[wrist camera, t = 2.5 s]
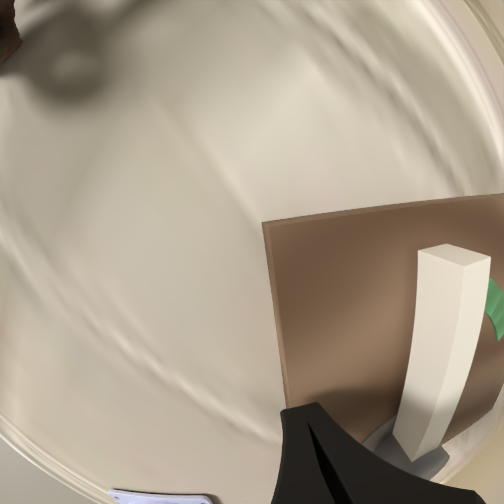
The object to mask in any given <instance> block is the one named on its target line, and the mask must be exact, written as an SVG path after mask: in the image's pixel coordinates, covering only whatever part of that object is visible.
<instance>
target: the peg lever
mask: <svg viewBox="0 0 504 504" xmlns="http://www.w3.org/2000/svg"><path fill="white" fill-rule="evenodd" d="M490 262H491V257H490V256H487V255H484V254H480V253H477V252H474V251H470V250H467V249H464V248H460V247H457V246H453V245H450V244H443V245H439V246H435V247H430V248H426V249H422V250H418V276H417V296H416V309H415V320H414V329H413V337H412V345H411V351H410V358H409V364H408V369H407V375H406V380H405V385H404V389H403V394H402V398H401V403H400V407H399V411H398V414H397V418H396V422H395V425H394V429H393V432H392V434H391V435H389V436H388V437H387V438H386V439H384V440H383V441H382V442H381V443H380V444H379V445H378V446H377V447H376V449H375V450H374V452H373V453H374V454H376V455H377V456H379V457H380V458H382V459H383V460H385V461H387V462H389V463H390V464H392V465H394V466H396V467H398V468H400V469H402V470H404V471H406V472H408V473H410V474H413V475H415V476H418V477H421V478H423V479H426V480H430V479H431V478H432V477H434V476H435V475H436V474H437V473H438V472H439V471H440V470H441V469H442V468H443V467H444V466H445V464H446V463H447V462H448V460H449V455H448V453H447V452H446V451H445V450H444V448H443V447H442V446H441V445H440V442H441V440H442V438H443V436H444V434H445V432H446V430H447V427H448V425H449V423H450V421H451V419H452V416H453V414H454V412H455V409H456V407H457V404H458V402H459V399H460V396H461V394H462V391H463V388H464V386H465V383H466V380H467V377H468V374H469V370H470V367H471V364H472V361H473V357H474V353H475V350H476V346H477V342H478V338H479V334H480V329H481V325H482V320H483V314H484V309H485V303H486V297H487V290H488V282H489V273H490Z"/></svg>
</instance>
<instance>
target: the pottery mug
mask: <svg viewBox="0 0 504 504" xmlns="http://www.w3.org/2000/svg"><path fill="white" fill-rule="evenodd" d="M14 1H15V0H0V64H2V63H4V62H5V61H6V60H7V59H9V58H10V57H11V56H12V55H13V53H14V52H15V51H16V50H17V49H18V48H19V47H20V46H21V44H22V40H21V38H20V37H19V32H18V29H17V27H16V24H15V21H14V18H15V9H14Z"/></svg>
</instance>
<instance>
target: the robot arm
mask: <svg viewBox="0 0 504 504" xmlns="http://www.w3.org/2000/svg"><path fill="white" fill-rule="evenodd" d="M280 415H281V422H282V429H283V444H282V456H281V463H280V469H279V474H278V479H277V484H276V488H275V492H274V495H273V499H272V502H271V504H486V503H485V502H484V500H483V499H482V498H481V497H480V496H479V495H478V494H477V493H476V492H475V491H473V490H467V489H460V488H455V487H450V486H445V485H442V484H438V483H435V482H431V481H429V480H426V479H423V478H421V477H418V476H415V475H413V474H410V473H408V472H406V471H404V470H402V469H400V468H398V467H396V466H394V465H392V464H390V463H389V462H387V461H385V460H383V459H382V458H380V457H379V456H377V455H376V454H374V453H373V452H371V451H370V450H368V449H367V448H366V447H364V446H363V445H362V444H360V443H359V442H358V441H357V440H355V439H354V438H353V437H352V436H351V435H350V434H348V433H347V432H346V431H345V430H344V429H343V428H342V427H341V426H340V425H339V424H338V423H337V422H336V421H335V420H334V419H333V418H332V417H331V416H330V415H329V414H328V413H327V412H326V411H325V410H324V409H323V407H322V406H321V405H320V404H319V403H318V402H314V403H310V404H306V405H302V406H297V407H293V408H288V409H284V410H282V411H281V412H280ZM108 493H109V495H110V496H111V497H113V498H114V499H115V500H116V501H117V502H118V503H119V504H213V503H212V501H211V500H210V499H209V498H208V497H207V496H203V495H159V494H146V493H136V492H128V491H121V490H114V489H109V492H108Z"/></svg>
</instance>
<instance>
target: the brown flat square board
mask: <svg viewBox="0 0 504 504" xmlns="http://www.w3.org/2000/svg"><path fill="white" fill-rule="evenodd" d="M262 227H263V234H264V241H265V248H266V255H267V263H268V270H269V277H270V284H271V292H272V299H273V306H274V314H275V321H276V329H277V337H278V345H279V352H280V360H281V368H282V376H283V384H284V393H285V401H286V409H288V408H293V407H297V406H302V405H306V404H310V403H314V402H318V403H319V404H320V405H321V406H322V407H323V409H324V410H325V411H326V412H327V413H328V414H329V415H330V416H331V417H332V418H333V419H334V420H335V421H336V422H337V423H338V424H339V425H340V426H341V427H342V428H343V429H344V430H345V431H346V432H347V433H348V434H350V435H351V436H352V437H353V438H354V439H355V440H357V441H358V442H359V443H360V444H362V445H363V446H364V447H366V448H367V449H368V450H370V451H371V452H374V450H375V449H376V447H377V446H378V445H379V444H380V443H381V442H382V441H383V440H384V439H386V438H387V437H388V436H389V435H391V434H392V432H393V429H394V425H395V422H396V418H397V414H398V411H399V407H400V403H401V398H402V394H403V389H404V385H405V380H406V375H407V369H408V364H409V358H410V351H411V345H412V337H413V329H414V320H415V309H416V296H417V276H418V250H422V249H426V248H430V247H435V246H439V245H443V244H450V245H453V246H457V247H460V248H464V249H467V250H470V251H474V252H477V253H480V254H484V255H487V256H490V257H491V262H490V273H489V282H488V290H487V297H486V303H485V309H484V314H483V320H482V325H481V329H480V334H479V338H478V342H477V346H476V350H475V353H474V357H473V361H472V364H471V367H470V370H469V374H468V377H467V380H466V383H465V386H464V388H463V391H462V394H461V396H460V399H459V402H458V404H457V407H456V409H455V412H454V414H453V416H452V419H451V421H450V423H449V425H448V427H447V430H446V432H445V434H444V436H443V438H442V440H441V442H440V445H442V444H444V443H445V442H447V441H449V440H450V439H452V438H453V437H455V436H456V435H458V434H459V433H461V432H462V431H464V430H465V429H466V428H468V427H469V426H471V425H472V424H473V423H475V422H476V421H477V420H479V419H480V418H481V417H483V416H484V415H485V414H486V413H488V412H489V411H490V410H491V409H492V408H493V406H494V403H495V401H496V399H497V397H498V395H499V393H500V390H501V388H502V386H503V383H504V193H503V194H490V195H478V196H467V197H456V198H446V199H436V200H427V201H418V202H409V203H400V204H392V205H383V206H375V207H367V208H359V209H352V210H344V211H337V212H329V213H322V214H315V215H308V216H301V217H294V218H288V219H281V220H274V221H268V222H262Z"/></svg>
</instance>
